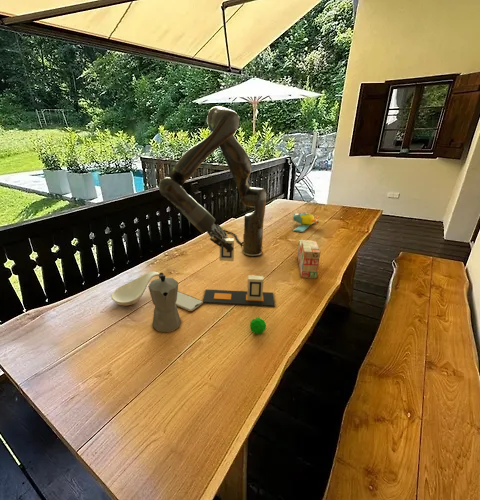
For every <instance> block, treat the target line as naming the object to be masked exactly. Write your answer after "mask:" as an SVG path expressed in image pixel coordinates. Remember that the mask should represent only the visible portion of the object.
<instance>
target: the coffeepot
mask: <svg viewBox="0 0 480 500" xmlns="http://www.w3.org/2000/svg"><path fill="white" fill-rule="evenodd" d="M147 287H148V290H149V294H150V298H151V301H152V304H153V305H154V308H153V316H152V317H153V318H152V327H153V328H154V329H155V330H156V331H157V332H160V333H169V332H173V331H175V330H177V329H178V328H179V327H180V323H181V317H180V314H179V313H180V312H179V310H178V306H176V304H175V303H176V301H177V291H178V292H179V290H178V289H179V281H177V280H176V279H174V278H173V277H166V275H165V274H164V272H159V276H158V278H156V279H152V280H151V281H150V282H149V283H148V285H147Z"/></svg>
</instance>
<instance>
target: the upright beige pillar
mask: <svg viewBox="0 0 480 500" xmlns="http://www.w3.org/2000/svg"><path fill="white" fill-rule="evenodd" d="M246 291H247V299H250V300H262V297H263V292H264V275H249V274H248V275H247V290H246Z"/></svg>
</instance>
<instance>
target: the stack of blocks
mask: <svg viewBox="0 0 480 500" xmlns="http://www.w3.org/2000/svg"><path fill="white" fill-rule="evenodd" d="M297 247H298V248H297V262H298V265H299V272H300V276H301V277H300V278H305V279H317V277H318V270H319V266H320V265H319V263H320V258H321V251H320V247H319V245H318V244H317V241H316V240H309V239H305V240H304V239H298V246H297Z"/></svg>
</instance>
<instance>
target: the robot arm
mask: <svg viewBox="0 0 480 500" xmlns="http://www.w3.org/2000/svg"><path fill="white" fill-rule="evenodd" d="M206 123H207V127H208V129H209V131H210V132H211V133H210V134H209V135H207V136H206V137H205V138H204V139H203V140H201V141H200V142H198V143H196V144H195V145H193V146H192V147H189V149H188V150H186V151H185V152H184V153H183V154H182V156H181V157H180V158H179V159H178V161H177V162H176V163H175V164H174V166H173V168H172V169H171V171H170V172H169V173H168V174H167V175H166V176H165V177H163V178H162V179H160V181H159V183H158V191H159V193H160V194H161V196H163V197H164V198H165V199H166V200H167V201H169V202H170V203H171V204H172V205H173V206H174V207H175V208H176V209H177V210H178V211H179V212H180V214H182V215H183V217H185V218H186V219H187V220H188V222H189V223H190V224H191V225H192V226H193V227H195V228H196V230H198V231H199V232H200V233H201V234H205V233H207V234H208V236H209V237H210V238H209V241H210V242H212V243H214V244H215V245H217V246H218V247H219V248H220V247H224V248H225V249H226V250H227V251H228V252H231V251H232V250H233V247H232V246H231V245H230V244H229V243H228V242H227V241H226V240H225V239H224V238H229V236H228V234H230V235H233V236H234V237H235V240H236V242H237V243H238V244H239V245H242V252H243V254H244V256H247V257H253V258H254V257H260V256H262V255H263V248H264V246H263V235H264V220H265V215H266V207H267V206H266V204H267V191H266V189H265V188H263V187H254V186H251V185H250V184H249V177H250V175H251V173H252V168H253V167H252V162H251V161H250V158H249V155H248V153H247V151H246V150H245V148H244V147H243V146H242V144H241V143H240V142H239V141H238V140H237V138H236V137H235V135H234V134H235V133H236V132H237V130H238V129H239V127H240V116H239V114H238V113H237V112H236V111H235V110H232V109H229V108H227V107H224V106H221V105H219V106H218V105H217V106H213V107H211V108H210V109H209V111H208V112H207V116H206ZM218 148H219V149H220V151H221V153H222V156H223V158H224V160H225V162H226V165H227V167H228V170H229V172H230V174H231V175H232V178H233V180H234V183H235V185H236V188H237V191H238V194H239V195H238V196H239V198H240V200H241V203H242V204H243V205H244V206H245V207H249V208H254V209H253V210H254V211H251V212H248V213H246V214H245V215H244V217H243V218H244V220H243V221H244V223H243V239H242V241H240V240H239V239H238V236H237V234H235V233H234V232H232V231H229V230H227V229H226V230H225V229H223V228H222V227H221V226H220V224H219V223H218V224H215V222H216V218H215V217H214V216H213V215H212V214H211V213H210V212H209V211H208V210H207V209H206V208H205V207H204V206H202V205H201V204H200V203H199V202H197V201H196V199H194V198H193V196H192V195H190V194H188V193H187V191H186V190H185V189H184V187H183V185H184V184H185V183H186V181H187V180H189V179H190V177H191V176H192V175H193V174H194V173H195V172H196V171H197V170H198V168H199V167H200V166H201V165H202V164H203V163H204V162H205V160H207V158H209V157H210V156H211V155H212V154H213V153H214V152H215V151H216V150H217V149H218ZM227 233H228V234H227ZM220 241H221V242H220Z"/></svg>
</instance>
